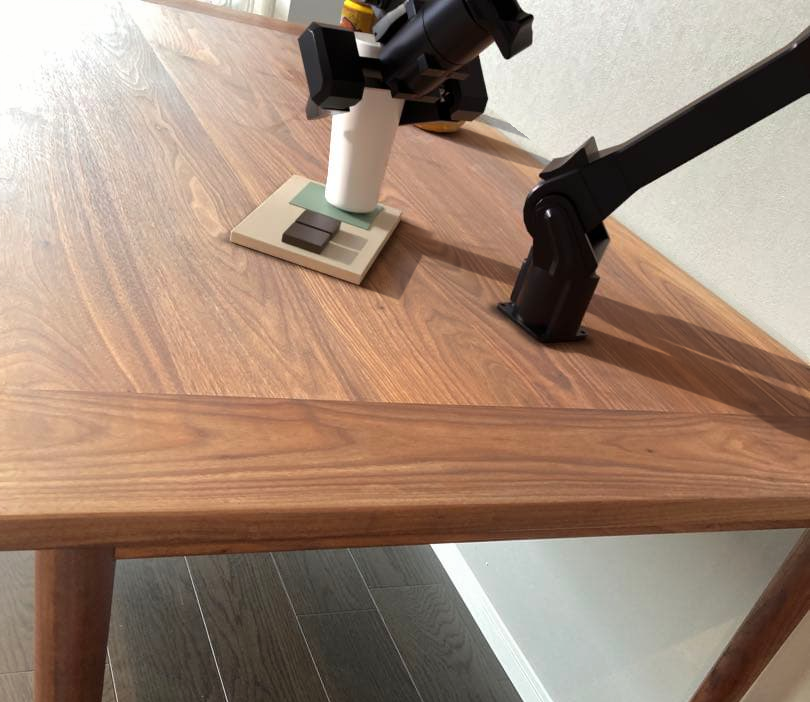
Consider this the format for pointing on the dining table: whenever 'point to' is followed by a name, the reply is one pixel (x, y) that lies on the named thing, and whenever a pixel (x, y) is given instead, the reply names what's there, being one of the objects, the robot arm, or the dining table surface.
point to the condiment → (358, 17)
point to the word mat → (317, 230)
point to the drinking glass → (362, 144)
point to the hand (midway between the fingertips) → (348, 118)
